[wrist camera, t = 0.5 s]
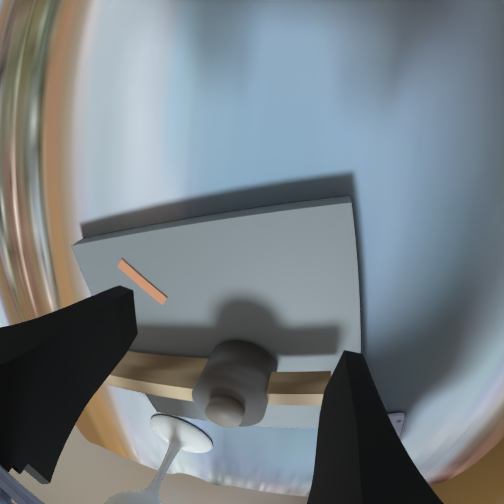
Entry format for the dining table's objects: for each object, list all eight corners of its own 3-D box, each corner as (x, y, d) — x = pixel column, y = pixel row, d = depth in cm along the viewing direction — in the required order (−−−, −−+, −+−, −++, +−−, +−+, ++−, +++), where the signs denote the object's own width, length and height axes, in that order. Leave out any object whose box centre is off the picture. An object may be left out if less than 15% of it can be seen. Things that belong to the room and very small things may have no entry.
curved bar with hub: (329, 337, 18) (324, 397, 14) (333, 386, 20) (328, 442, 16) (107, 333, 24) (75, 368, 20) (129, 373, 26) (104, 408, 22)
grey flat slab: (358, 414, 24) (357, 428, 22) (155, 400, 30) (149, 410, 29) (349, 195, 16) (351, 203, 15) (75, 240, 23) (63, 247, 22)
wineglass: (223, 454, 33) (168, 584, 14) (170, 446, 36) (112, 557, 17) (194, 417, 30) (117, 569, 12) (139, 410, 33) (62, 533, 15)
